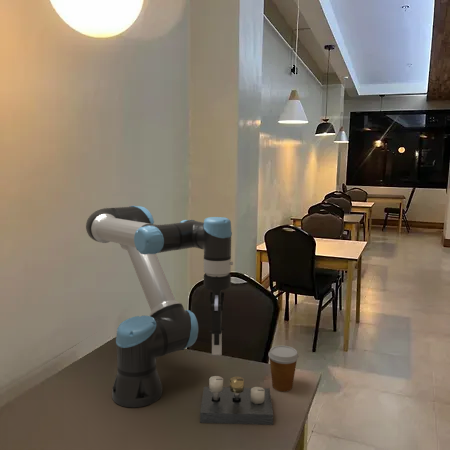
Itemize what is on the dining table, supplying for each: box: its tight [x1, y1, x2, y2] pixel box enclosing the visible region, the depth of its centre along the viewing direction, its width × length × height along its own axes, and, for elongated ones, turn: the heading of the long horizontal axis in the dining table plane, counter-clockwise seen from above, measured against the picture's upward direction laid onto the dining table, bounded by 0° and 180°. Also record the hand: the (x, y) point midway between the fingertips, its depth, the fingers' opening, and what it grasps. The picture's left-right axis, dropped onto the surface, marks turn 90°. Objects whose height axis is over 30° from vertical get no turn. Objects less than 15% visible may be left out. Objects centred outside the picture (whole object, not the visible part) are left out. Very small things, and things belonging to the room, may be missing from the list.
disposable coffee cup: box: [267, 345, 300, 393], centre depth 141 cm, size 10×10×12 cm
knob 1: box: [208, 375, 224, 400], centre depth 128 cm, size 4×4×6 cm
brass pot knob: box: [229, 376, 245, 401], centre depth 128 cm, size 4×4×6 cm
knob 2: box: [250, 386, 265, 404], centre depth 128 cm, size 4×4×6 cm
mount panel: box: [199, 386, 274, 426], centre depth 129 cm, size 20×14×3 cm
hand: (216, 353), depth 127 cm, fingers closed
